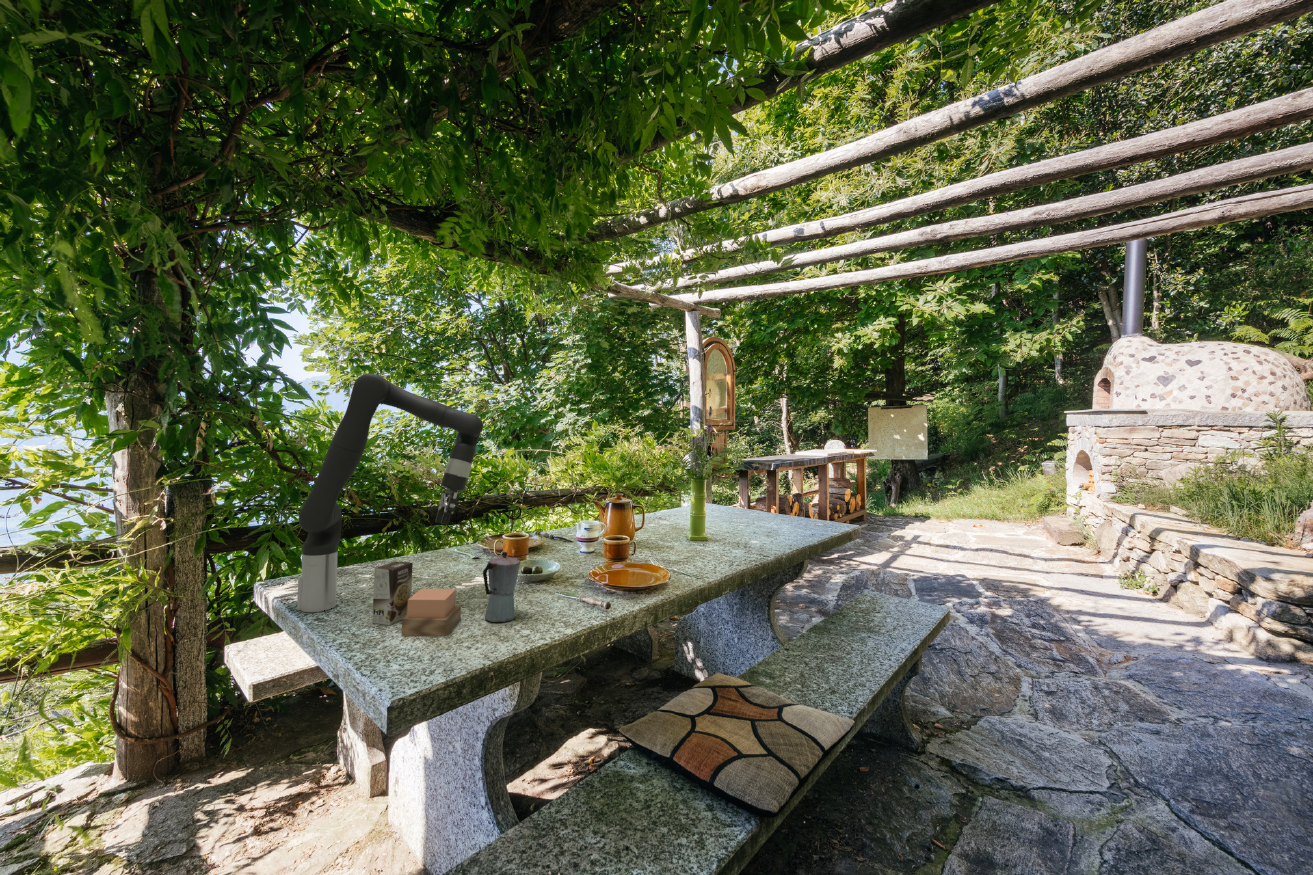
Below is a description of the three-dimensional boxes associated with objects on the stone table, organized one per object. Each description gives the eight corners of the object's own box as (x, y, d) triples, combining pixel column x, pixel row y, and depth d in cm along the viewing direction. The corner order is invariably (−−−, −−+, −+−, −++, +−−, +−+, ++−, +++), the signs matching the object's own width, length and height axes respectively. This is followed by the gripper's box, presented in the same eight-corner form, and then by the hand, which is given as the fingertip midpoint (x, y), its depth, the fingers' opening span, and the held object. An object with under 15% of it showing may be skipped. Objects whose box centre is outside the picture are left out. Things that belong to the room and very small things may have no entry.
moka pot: (527, 612, 163) (529, 549, 163) (497, 630, 148) (499, 560, 148) (501, 608, 166) (503, 546, 166) (469, 624, 151) (472, 556, 151)
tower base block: (401, 637, 142) (402, 618, 142) (419, 621, 154) (420, 604, 154) (446, 637, 143) (446, 619, 143) (460, 621, 155) (461, 605, 155)
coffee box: (390, 625, 149) (392, 569, 148) (371, 623, 150) (373, 567, 150) (412, 614, 158) (413, 562, 157) (393, 612, 159) (395, 560, 159)
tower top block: (407, 617, 143) (407, 599, 143) (420, 605, 153) (421, 588, 153) (444, 617, 144) (445, 599, 144) (455, 605, 154) (456, 588, 154)
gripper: (440, 471, 173) (425, 519, 170) (449, 471, 161) (433, 523, 158) (462, 477, 177) (448, 524, 173) (473, 477, 165) (458, 528, 162)
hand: (441, 523), depth 166 cm, fingers open, 8 cm apart
